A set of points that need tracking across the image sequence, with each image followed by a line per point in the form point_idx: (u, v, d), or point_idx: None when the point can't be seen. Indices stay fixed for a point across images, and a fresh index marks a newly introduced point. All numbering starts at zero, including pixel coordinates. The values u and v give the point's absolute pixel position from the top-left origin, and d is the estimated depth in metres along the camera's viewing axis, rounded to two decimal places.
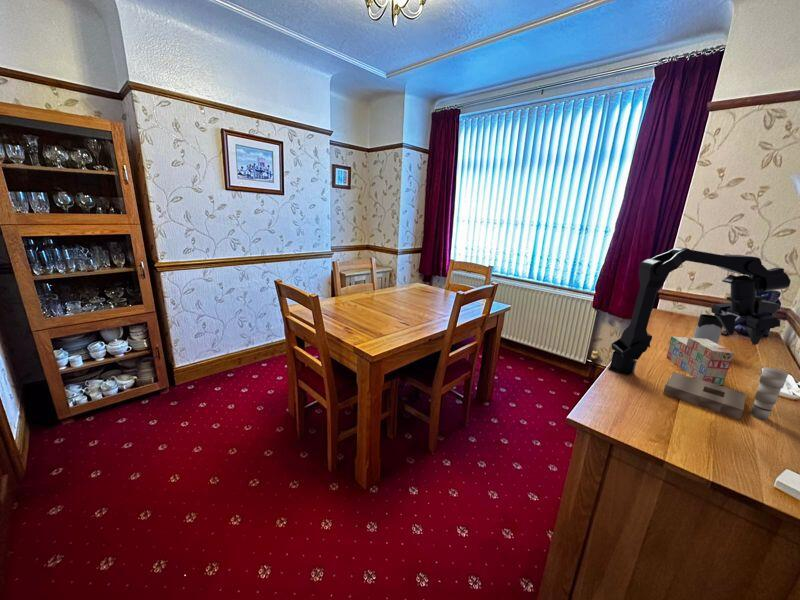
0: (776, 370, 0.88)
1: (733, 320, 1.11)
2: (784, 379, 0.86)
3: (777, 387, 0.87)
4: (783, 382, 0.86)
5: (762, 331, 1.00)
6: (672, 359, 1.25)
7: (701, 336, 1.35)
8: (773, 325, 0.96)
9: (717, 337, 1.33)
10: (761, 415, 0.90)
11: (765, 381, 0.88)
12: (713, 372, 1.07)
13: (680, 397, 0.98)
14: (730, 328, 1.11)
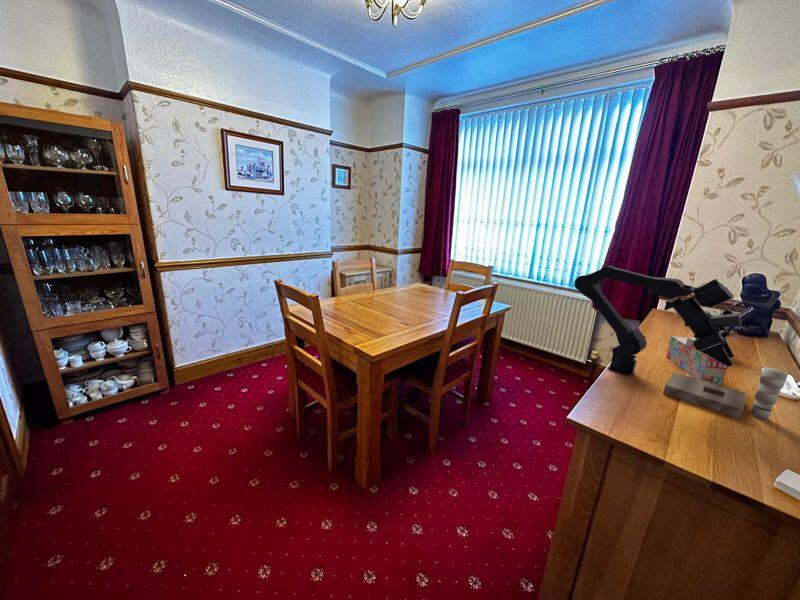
0: (776, 370, 0.88)
1: None
2: (784, 379, 0.86)
3: (777, 387, 0.87)
4: (783, 382, 0.86)
5: (720, 350, 0.91)
6: (672, 359, 1.25)
7: None
8: (712, 343, 0.90)
9: None
10: (761, 415, 0.90)
11: (765, 381, 0.88)
12: (712, 371, 1.08)
13: (680, 397, 0.98)
14: (725, 350, 0.98)
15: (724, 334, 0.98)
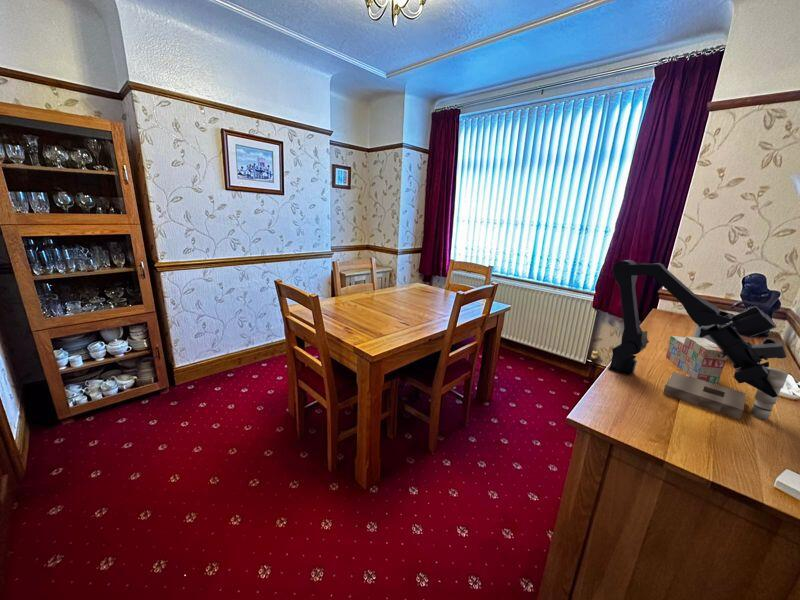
0: (776, 370, 0.88)
1: None
2: (784, 379, 0.86)
3: (777, 387, 0.87)
4: (783, 382, 0.86)
5: (764, 380, 0.87)
6: (671, 358, 1.26)
7: None
8: (755, 376, 0.84)
9: None
10: (761, 415, 0.90)
11: None
12: (707, 370, 1.08)
13: (680, 397, 0.98)
14: None
15: (765, 366, 0.91)
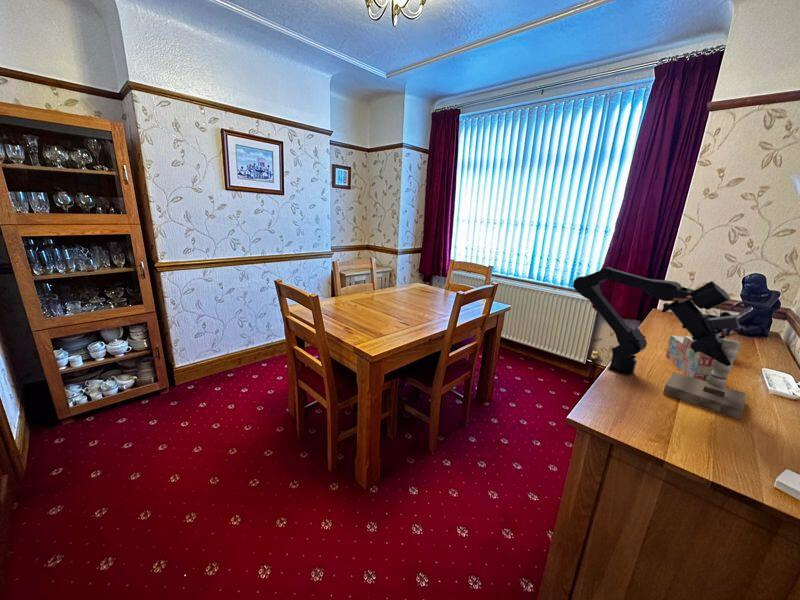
0: (730, 341, 0.93)
1: None
2: (737, 348, 0.92)
3: (731, 356, 0.92)
4: (736, 352, 0.92)
5: (719, 350, 0.93)
6: (670, 358, 1.26)
7: None
8: (709, 345, 0.90)
9: None
10: (717, 383, 0.95)
11: None
12: (704, 369, 1.09)
13: (680, 397, 0.98)
14: None
15: None
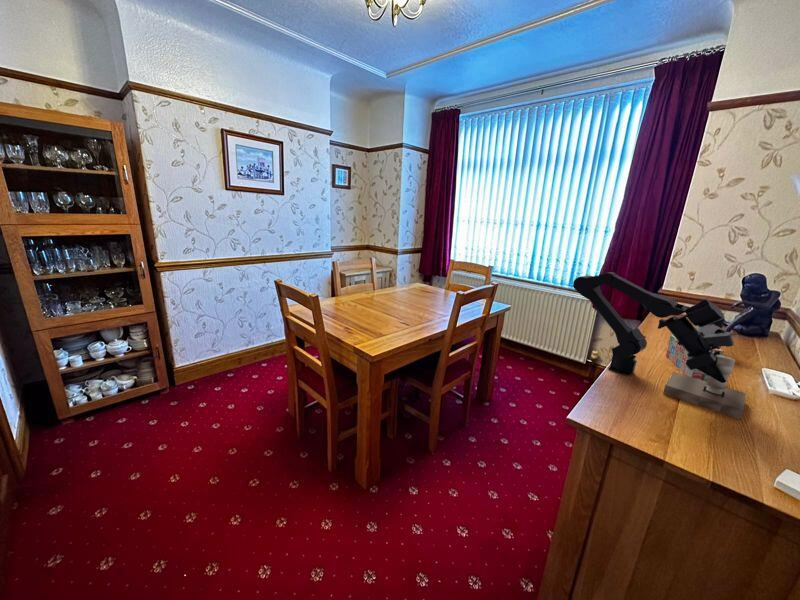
0: (725, 358, 0.95)
1: None
2: (732, 366, 0.93)
3: (725, 373, 0.94)
4: (731, 369, 0.93)
5: (714, 367, 0.94)
6: (670, 357, 1.26)
7: None
8: (704, 363, 0.91)
9: None
10: None
11: None
12: None
13: (680, 397, 0.98)
14: None
15: (717, 354, 0.98)
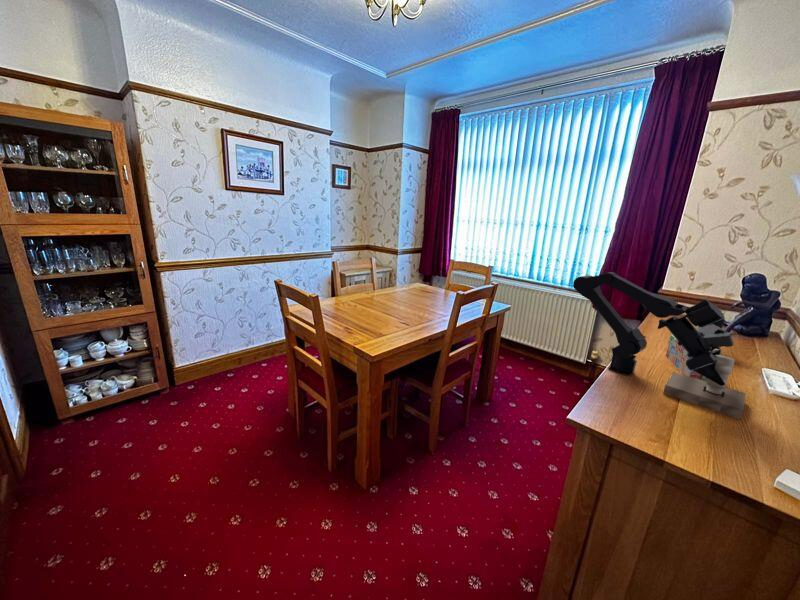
0: (725, 357, 0.95)
1: None
2: (731, 365, 0.93)
3: (725, 373, 0.94)
4: (730, 369, 0.93)
5: (713, 370, 0.92)
6: (669, 357, 1.27)
7: None
8: (704, 363, 0.91)
9: None
10: None
11: None
12: None
13: (680, 397, 0.98)
14: None
15: (718, 353, 0.99)
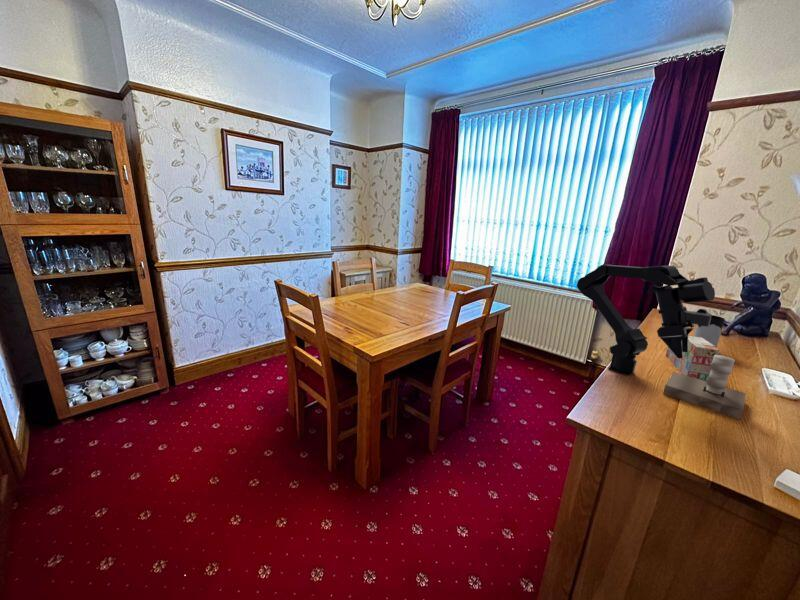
0: (725, 357, 0.95)
1: None
2: (731, 365, 0.93)
3: (725, 373, 0.94)
4: (730, 369, 0.93)
5: (678, 342, 0.95)
6: (669, 357, 1.27)
7: (701, 336, 1.35)
8: (674, 333, 0.93)
9: (717, 337, 1.33)
10: None
11: (715, 367, 0.95)
12: (698, 368, 1.10)
13: (680, 397, 0.98)
14: (682, 345, 1.03)
15: (689, 330, 1.02)
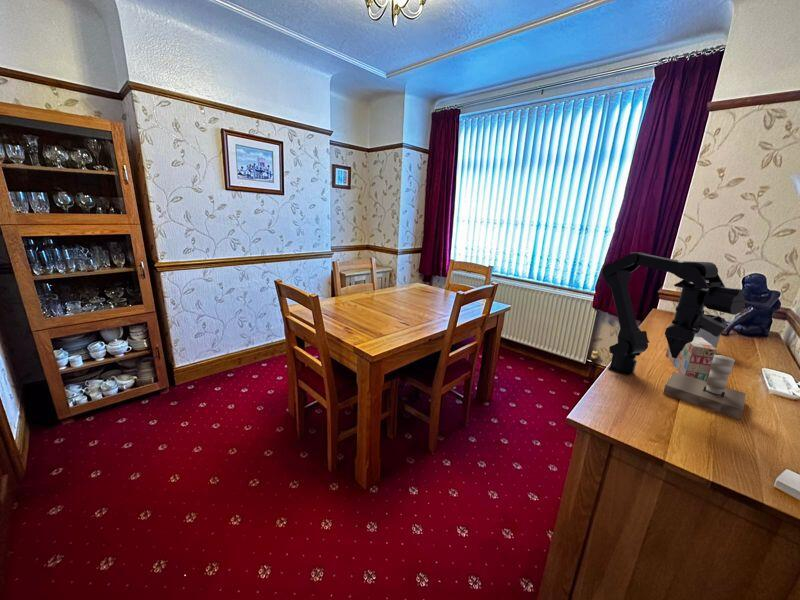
0: (725, 357, 0.95)
1: None
2: (731, 365, 0.93)
3: (725, 373, 0.94)
4: (730, 369, 0.93)
5: (681, 344, 0.93)
6: (669, 356, 1.27)
7: (701, 336, 1.35)
8: (682, 337, 0.90)
9: (717, 337, 1.33)
10: None
11: (715, 367, 0.95)
12: (696, 367, 1.10)
13: (680, 397, 0.98)
14: None
15: (694, 332, 0.99)
